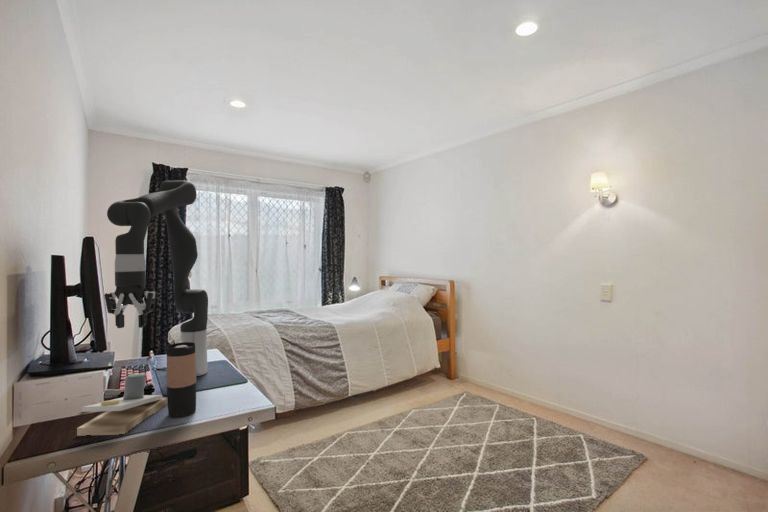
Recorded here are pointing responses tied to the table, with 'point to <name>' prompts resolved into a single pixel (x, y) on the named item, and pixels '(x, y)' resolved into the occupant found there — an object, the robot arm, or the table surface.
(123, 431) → the oak base
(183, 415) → the travel mug
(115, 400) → the plate
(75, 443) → the table surface
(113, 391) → the caliper
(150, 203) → the robot arm
